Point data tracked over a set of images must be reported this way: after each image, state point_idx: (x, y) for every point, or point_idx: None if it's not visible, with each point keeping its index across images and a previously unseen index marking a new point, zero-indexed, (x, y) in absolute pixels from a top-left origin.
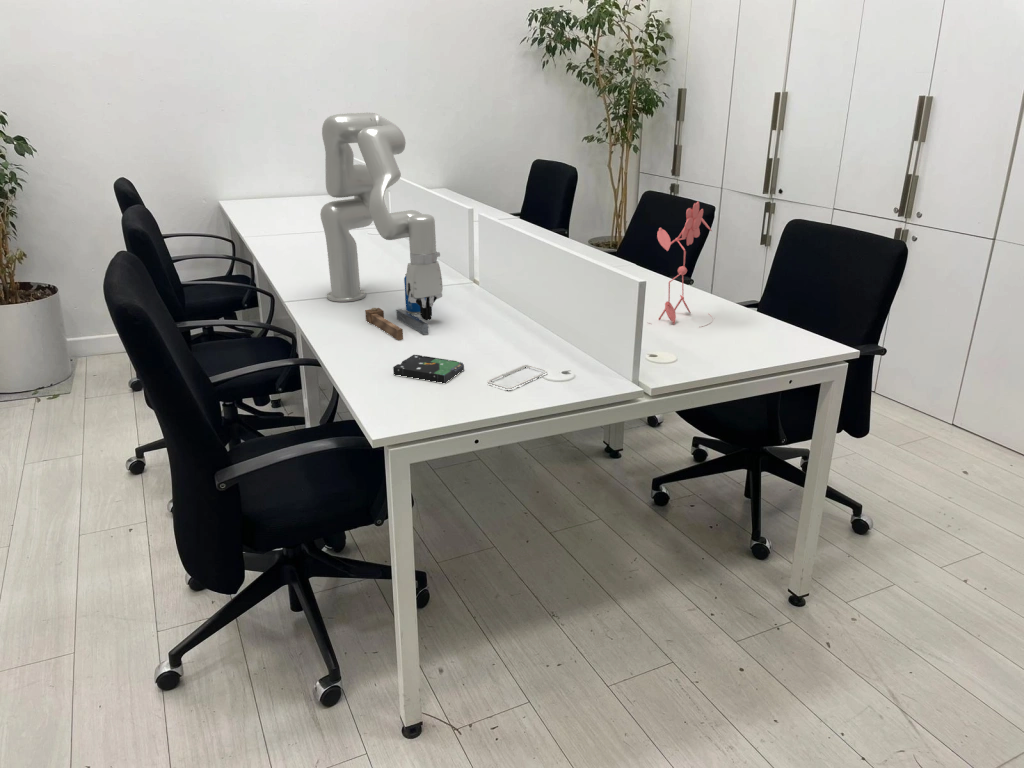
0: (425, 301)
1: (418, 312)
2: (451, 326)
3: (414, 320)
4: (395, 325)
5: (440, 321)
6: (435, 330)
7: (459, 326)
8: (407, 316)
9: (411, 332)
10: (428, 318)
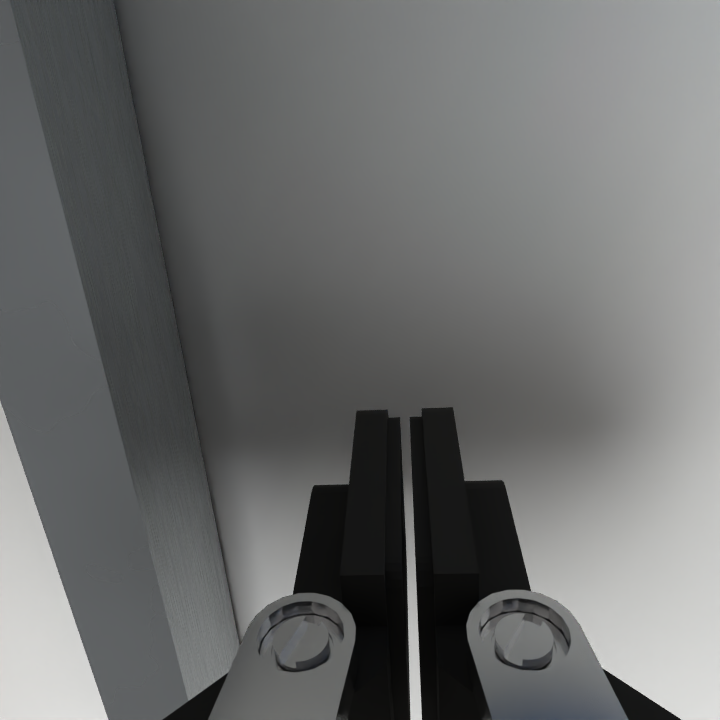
0: (477, 663)
1: None
2: (623, 661)
3: (109, 692)
4: None
5: (638, 439)
6: None
7: (700, 700)
8: (41, 495)
9: None
10: (406, 566)
